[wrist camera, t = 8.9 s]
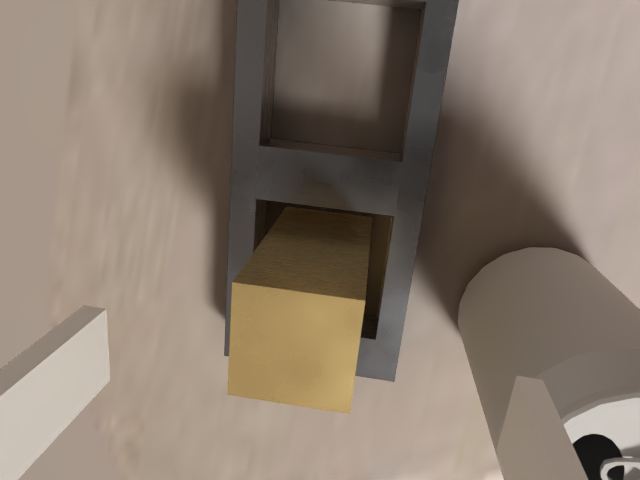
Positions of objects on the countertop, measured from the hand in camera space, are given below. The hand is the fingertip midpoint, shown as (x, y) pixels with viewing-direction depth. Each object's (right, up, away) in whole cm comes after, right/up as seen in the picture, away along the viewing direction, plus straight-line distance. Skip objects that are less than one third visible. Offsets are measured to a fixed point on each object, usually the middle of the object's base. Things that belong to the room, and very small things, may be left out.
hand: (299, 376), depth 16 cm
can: (+12, +1, +11) cm, 16 cm away
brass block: (+1, +4, +11) cm, 12 cm away
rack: (+1, +8, +9) cm, 12 cm away
